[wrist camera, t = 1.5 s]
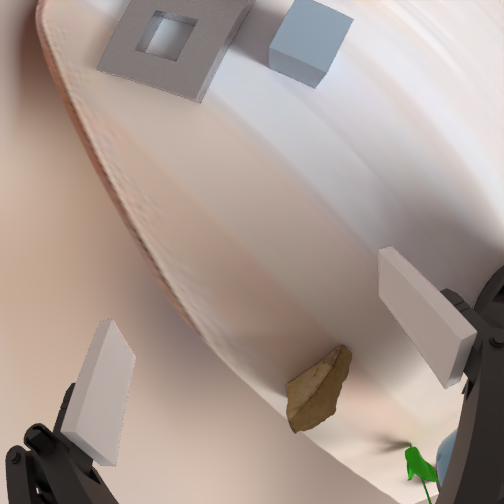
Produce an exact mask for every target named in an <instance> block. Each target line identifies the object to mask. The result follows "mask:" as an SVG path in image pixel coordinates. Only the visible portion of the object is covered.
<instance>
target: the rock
mask: <svg viewBox="0 0 504 504" xmlns="http://www.w3.org/2000/svg"><path fill="white" fill-rule="evenodd" d="M351 359H352V353H351V352H350V351H349V350H347V348H346V347H344V346H343V345H340V346H338V347H337V348H336V349H334V350H333V351H332V352H331V353H330V354H329V355H328V356H326V357H324V358H323V359H322V360H321V361H320V362H318V363H317V364H316V365H314V366H313V367H310V368H309V369H308V370H306V371H305V372H304V373H302V374H301V375H300V376H298V377H297V378H296V379H295V380H292V381H291V382H290V383H288V385H287V386H286V387H287V390H286V391H287V395H288V404H287V410H286V414H287V418H288V422H289V424H290V427H291V429H292V430H293V432H294V433H297V432H299V431H306V430H309V429H312V428H314V427H315V426H317V425H319V424H320V423H321V422H323V421H325V420H326V419H327V418H328V417H330V416H331V415H333V414H334V413H335V412H336V403H337V399H338V397H339V394H340V390H341V388H342V383H343V381H344V380H345V379H346V378H347V375H348V372H349V365H350V362H351Z"/></svg>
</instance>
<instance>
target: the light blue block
mask: <svg viewBox="0 0 504 504" xmlns="http://www.w3.org/2000/svg"><path fill="white" fill-rule="evenodd" d="M353 20H354V19H352V18H350V17H348V16H346V15H344V14H342V13H340V12H338V11H336V10H334V9H331V8H329V7H327V6H325V5H322V4H320V3H318V2H315V1H313V0H295V1H294V3H293V4H292V6H291V8H290V9H289V11H288V13H287V15H286V17H285V18H284V20H283V22H282V24H281V25H280V27H279V29H278V31H277V33H276V35H275V36H274V38H273V40H272V42H271V44H270V46H269V68H270V69H272V70H274V71H277V72H279V73H281V74H284V75H286V76H288V77H291V78H293V79H295V80H297V81H299V82H302V83H304V84H306V85H308V86H310V87H312V88H314V89H315V88H316V86H317V85H318V84H319V83H320V81H321V80H322V79H323V77H324V76H325V75H326V74H327V72H328V70H329V68H330V66H331V64H332V62H333V60H334V58H335V56H336V54H337V52H338V50H339V48H340V46H341V44H342V42H343V40H344V38H345V36H346V34H347V32H348V30H349V28H350V26H351V24H352V22H353Z"/></svg>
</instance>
